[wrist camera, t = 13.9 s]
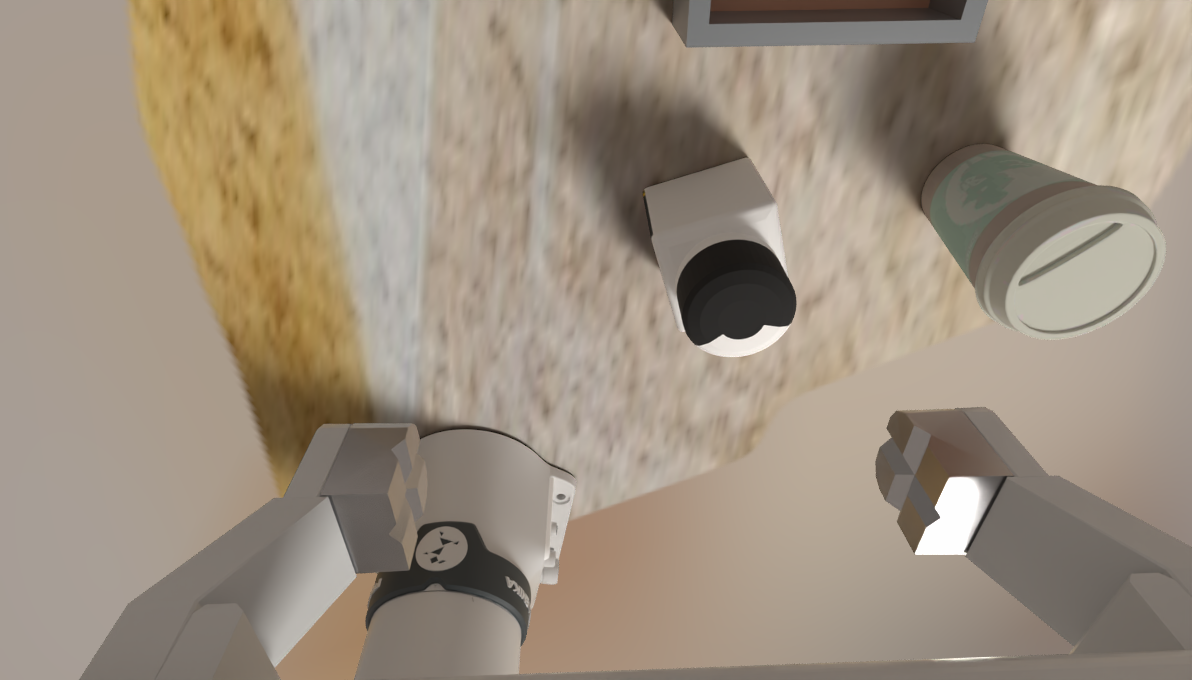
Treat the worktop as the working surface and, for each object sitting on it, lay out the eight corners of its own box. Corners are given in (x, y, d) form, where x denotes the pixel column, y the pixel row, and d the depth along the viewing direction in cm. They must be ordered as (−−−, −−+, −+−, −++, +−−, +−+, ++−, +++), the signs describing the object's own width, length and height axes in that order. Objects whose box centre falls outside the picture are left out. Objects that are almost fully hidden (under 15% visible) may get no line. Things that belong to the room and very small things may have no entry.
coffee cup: (1050, 109, 38) (1208, 187, 28) (1020, 233, 43) (1145, 335, 33) (906, 135, 39) (1013, 219, 29) (893, 254, 44) (980, 359, 34)
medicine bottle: (640, 187, 41) (658, 282, 31) (749, 154, 40) (803, 243, 30) (666, 276, 45) (689, 386, 35) (766, 249, 44) (817, 354, 34)
